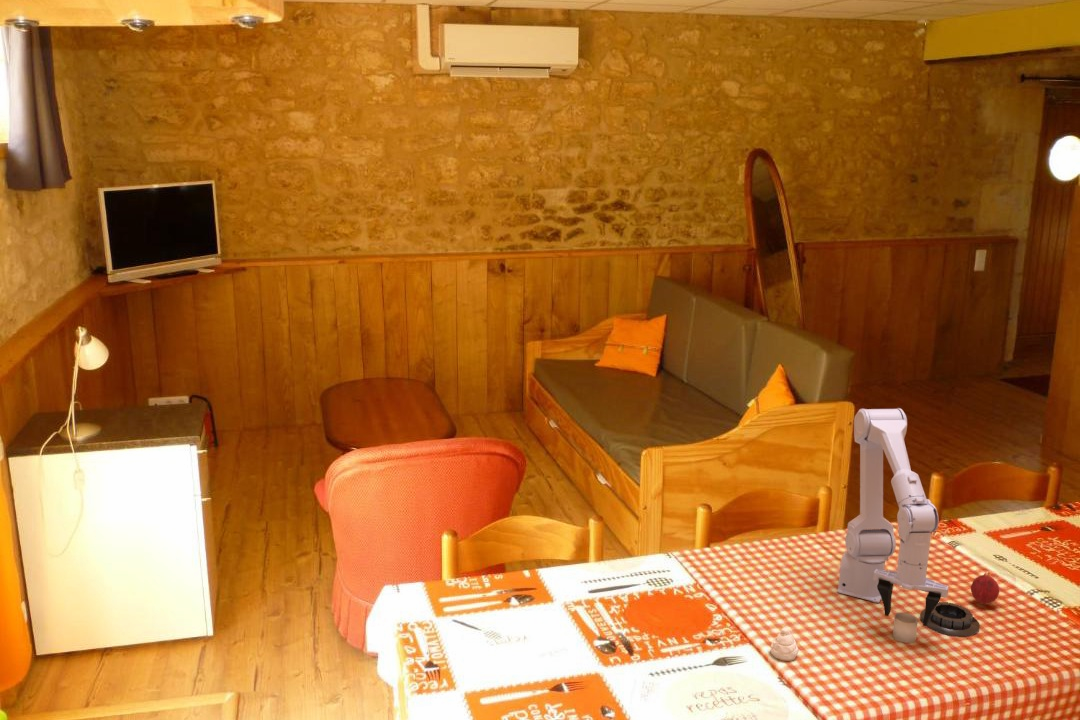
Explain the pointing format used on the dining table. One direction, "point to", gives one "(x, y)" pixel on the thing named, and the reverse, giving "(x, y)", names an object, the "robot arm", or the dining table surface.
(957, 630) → the ridged round lid
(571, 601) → the dining table surface
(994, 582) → the onion
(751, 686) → the dining table surface
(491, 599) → the dining table surface
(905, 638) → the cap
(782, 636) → the swirled meringue
